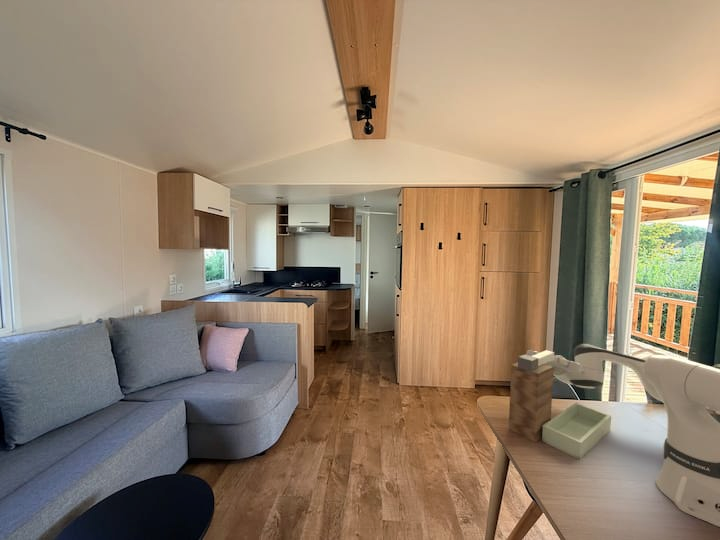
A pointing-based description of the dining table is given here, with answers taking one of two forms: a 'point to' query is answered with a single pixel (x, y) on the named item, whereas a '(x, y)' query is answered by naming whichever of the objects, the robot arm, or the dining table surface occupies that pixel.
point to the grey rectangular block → (534, 360)
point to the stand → (530, 400)
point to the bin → (576, 430)
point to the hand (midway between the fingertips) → (546, 356)
